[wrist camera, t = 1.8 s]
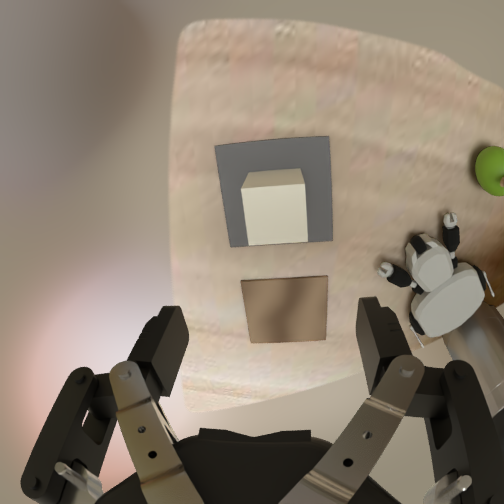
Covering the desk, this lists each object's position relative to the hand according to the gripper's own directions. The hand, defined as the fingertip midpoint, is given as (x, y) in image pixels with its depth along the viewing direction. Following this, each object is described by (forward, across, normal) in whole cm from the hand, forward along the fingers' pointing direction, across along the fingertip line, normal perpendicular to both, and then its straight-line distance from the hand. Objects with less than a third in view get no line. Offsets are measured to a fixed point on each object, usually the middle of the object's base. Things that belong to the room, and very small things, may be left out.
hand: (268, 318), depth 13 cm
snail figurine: (+19, -25, -3) cm, 32 cm away
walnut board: (+19, 0, +15) cm, 24 cm away
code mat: (+19, 0, 0) cm, 19 cm away
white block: (+18, 0, 0) cm, 19 cm away
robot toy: (+19, -19, +11) cm, 29 cm away
